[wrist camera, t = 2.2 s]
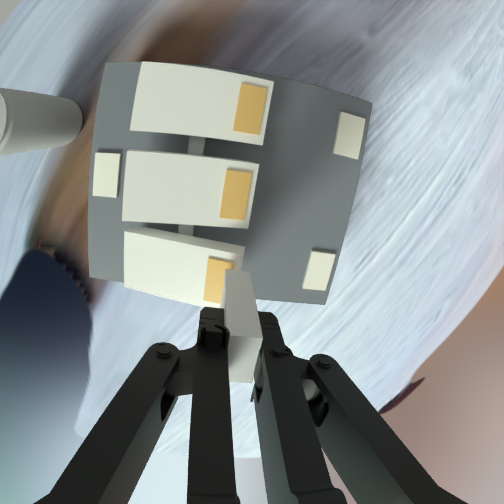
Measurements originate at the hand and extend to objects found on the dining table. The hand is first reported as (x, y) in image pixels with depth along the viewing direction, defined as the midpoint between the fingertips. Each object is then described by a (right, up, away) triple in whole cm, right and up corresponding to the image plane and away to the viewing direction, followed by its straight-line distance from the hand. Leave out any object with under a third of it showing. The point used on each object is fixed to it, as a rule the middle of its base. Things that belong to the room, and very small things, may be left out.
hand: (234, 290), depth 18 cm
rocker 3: (-4, +1, +2) cm, 4 cm away
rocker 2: (-3, +6, 0) cm, 7 cm away
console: (-2, +9, +8) cm, 12 cm away
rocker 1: (-2, +11, -2) cm, 12 cm away
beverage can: (-17, +15, +4) cm, 23 cm away
